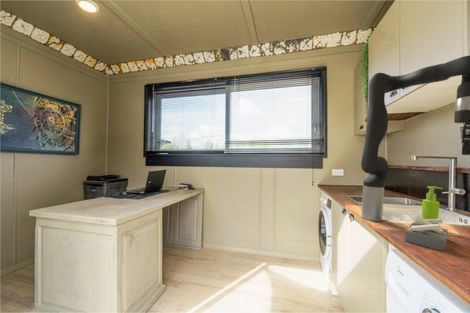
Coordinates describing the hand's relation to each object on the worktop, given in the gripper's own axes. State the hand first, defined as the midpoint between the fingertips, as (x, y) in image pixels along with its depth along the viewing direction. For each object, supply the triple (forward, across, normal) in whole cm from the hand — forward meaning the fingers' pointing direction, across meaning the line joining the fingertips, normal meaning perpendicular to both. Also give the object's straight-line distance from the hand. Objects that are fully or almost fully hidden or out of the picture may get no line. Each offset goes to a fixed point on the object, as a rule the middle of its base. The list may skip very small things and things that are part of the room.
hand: (465, 154), depth 80 cm
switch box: (+35, +5, -9) cm, 37 cm away
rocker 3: (+29, +11, -9) cm, 33 cm away
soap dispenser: (+35, -16, -10) cm, 40 cm away
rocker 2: (+29, +5, -9) cm, 31 cm away
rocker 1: (+29, -1, -9) cm, 31 cm away
